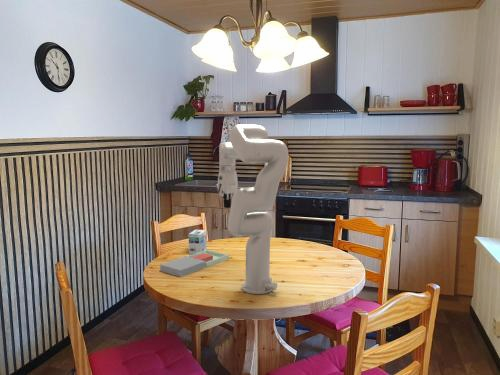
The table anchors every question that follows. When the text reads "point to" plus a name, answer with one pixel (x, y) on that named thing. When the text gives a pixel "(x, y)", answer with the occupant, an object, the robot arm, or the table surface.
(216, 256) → the tray
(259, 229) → the robot arm
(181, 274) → the grey flat slab
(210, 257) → the salmon red thick block
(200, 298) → the table surface
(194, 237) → the light bulb box
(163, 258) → the table surface
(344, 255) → the table surface
